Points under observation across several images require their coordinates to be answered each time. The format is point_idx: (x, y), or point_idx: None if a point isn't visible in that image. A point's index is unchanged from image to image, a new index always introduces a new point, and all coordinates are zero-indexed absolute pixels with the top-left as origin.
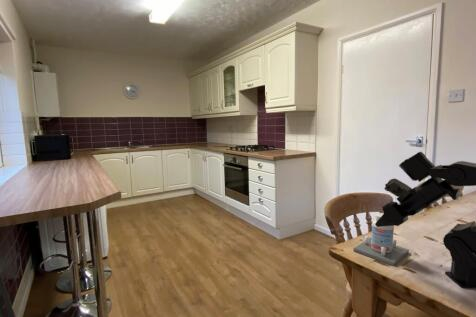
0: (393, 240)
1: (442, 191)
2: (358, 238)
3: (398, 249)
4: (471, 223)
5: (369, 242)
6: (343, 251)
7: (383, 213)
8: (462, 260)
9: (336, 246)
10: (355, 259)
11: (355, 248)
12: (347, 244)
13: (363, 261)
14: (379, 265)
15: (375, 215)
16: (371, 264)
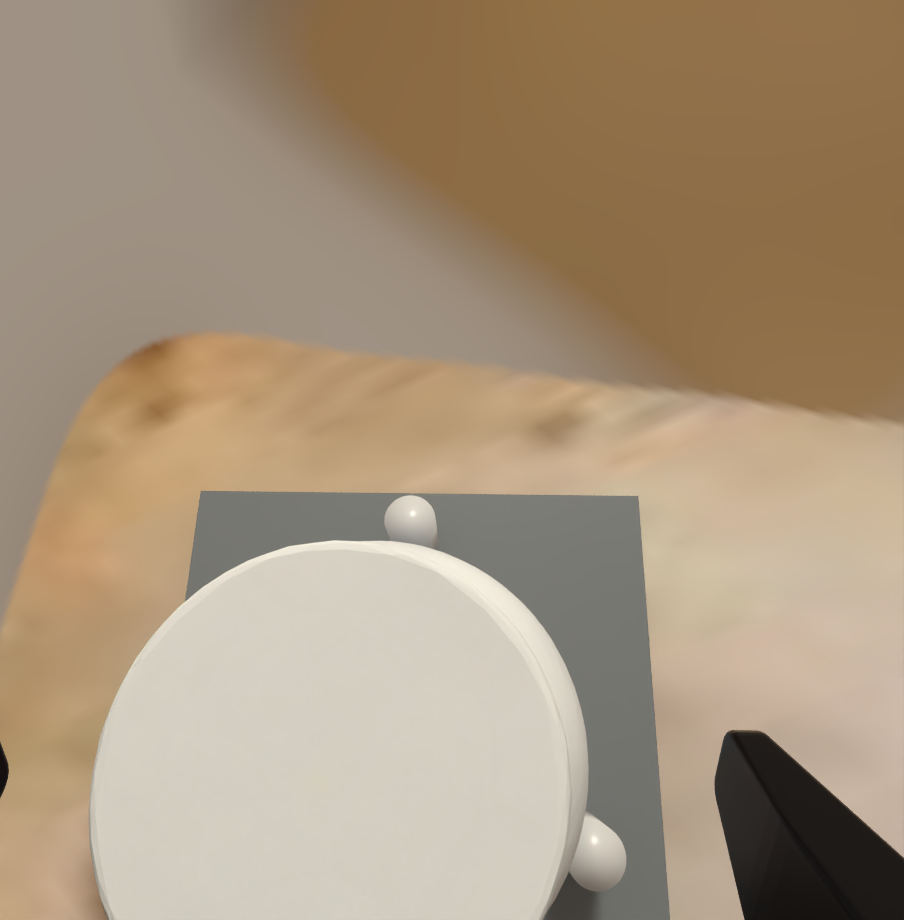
0: (575, 852)
1: None
2: (569, 394)
3: (565, 910)
4: None
5: (486, 548)
6: (138, 435)
7: (512, 695)
8: None
9: (203, 337)
10: (35, 604)
11: (205, 509)
12: (329, 386)
13: (42, 686)
14: (56, 861)
15: (225, 576)
16: (25, 782)
